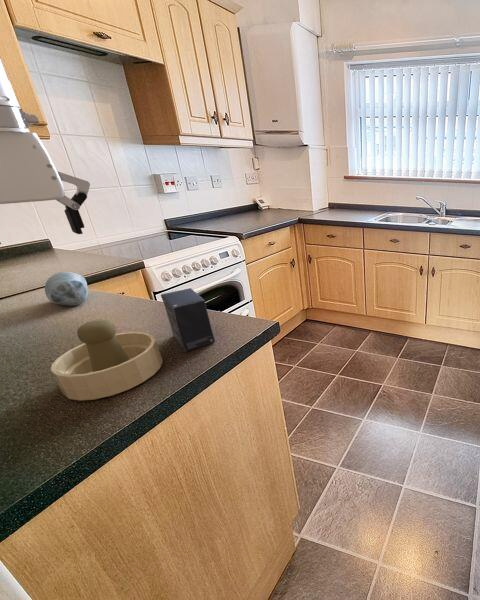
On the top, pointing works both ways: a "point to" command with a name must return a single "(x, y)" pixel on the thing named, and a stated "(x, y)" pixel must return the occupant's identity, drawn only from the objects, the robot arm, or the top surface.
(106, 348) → the cork
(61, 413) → the top surface
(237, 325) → the top surface
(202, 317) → the small box
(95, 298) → the top surface
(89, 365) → the bowl
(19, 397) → the top surface
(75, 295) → the light blue rounded lump
